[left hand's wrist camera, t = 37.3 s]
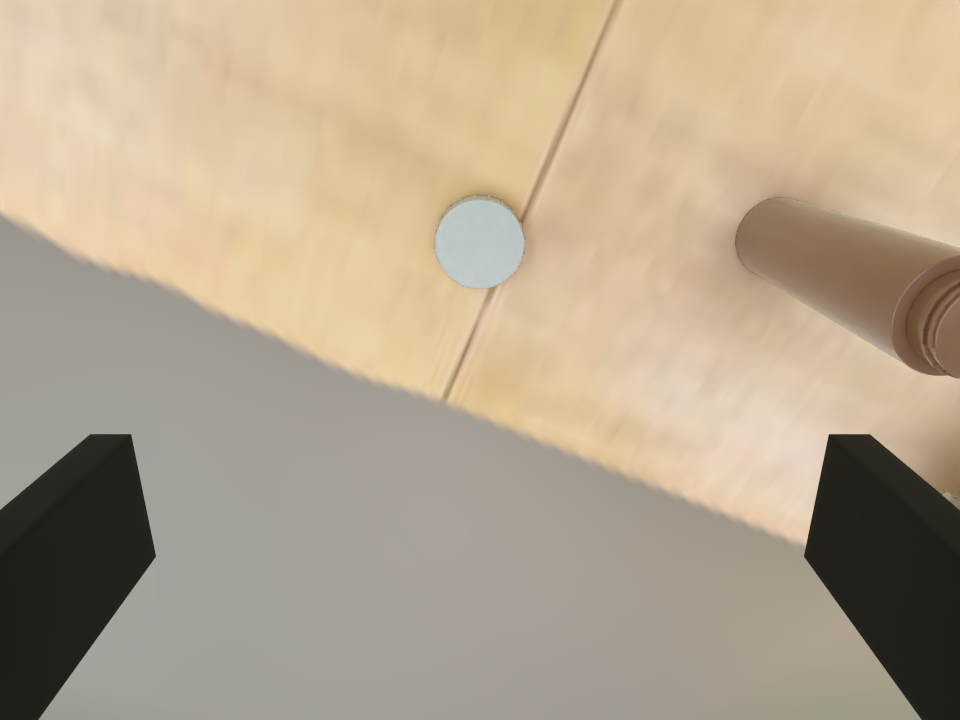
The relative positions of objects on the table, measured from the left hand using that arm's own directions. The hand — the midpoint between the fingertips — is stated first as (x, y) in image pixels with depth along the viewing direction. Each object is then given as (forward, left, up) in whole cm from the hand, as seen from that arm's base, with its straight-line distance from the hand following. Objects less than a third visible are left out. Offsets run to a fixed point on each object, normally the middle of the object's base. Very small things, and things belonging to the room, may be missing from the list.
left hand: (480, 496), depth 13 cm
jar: (+9, +15, -28) cm, 33 cm away
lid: (0, 0, -27) cm, 27 cm away
